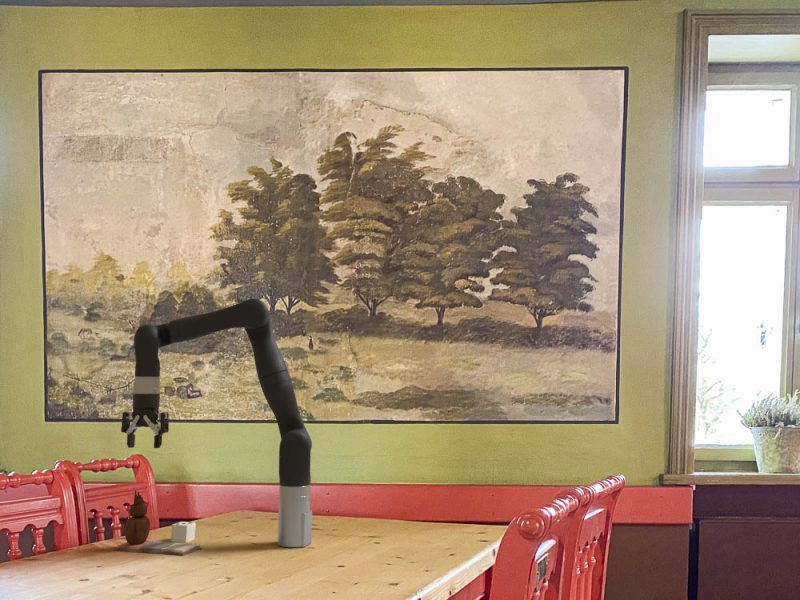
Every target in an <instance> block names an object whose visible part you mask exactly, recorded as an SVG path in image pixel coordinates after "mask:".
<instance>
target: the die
mask: <svg viewBox="0 0 800 600" xmlns="http://www.w3.org/2000/svg"><path fill="white" fill-rule="evenodd" d="M194 540H196V522H194V521H193V522H191V521H178V522H176V523H172V524H171V537H170V542H174V543H190V542H192V541H194Z"/></svg>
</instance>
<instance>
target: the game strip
mask: <svg viewBox="0 0 800 600" xmlns="http://www.w3.org/2000/svg"><path fill="white" fill-rule="evenodd" d="M199 549H201V545H198V544H197V543H190V542H187V543H181V542H171V541H170V542H168V541H160V540H159V541H157V540H156V541H154V540H146V541H145V542H144V543H142V544H137V545H132V544H129V543H128V542H127V541H126V542H124V543H120V544H118V545H117V546H116V547H114V548H113V551H115V552H129V553H130V552H131V553H142V554H144V553H145V554H156V555H157V554H158V555H170V556H171V555H173V556H182V557H183V556H185V555H188V554H191V553H192V552H195V551H197V550H199Z"/></svg>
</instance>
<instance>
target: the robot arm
mask: <svg viewBox="0 0 800 600" xmlns="http://www.w3.org/2000/svg"><path fill="white" fill-rule="evenodd" d="M239 328H244V330H245V332H246V334H247V337H248V339H249V341H250V344H251V348H252V351H253V356H254V357H253V358H254V364H255V371H256V375H257V377H258V381H259V385H260V387H261V390H262V393H263V396H264V398H265V400H266V402H267V404H268V406H269V408H270V409H271V412H272V414H273V416H274V417H275V420H276V423H277V426H278V430H279V434H280V443H279V449H278V455H279V456H278V476H279V477H278V479H279V486H278V488H279V489H278V490H279V491H278V495H279V496H278V515H277V516H278V520H277V521H278V522H277V523H278V524H277V546H279V547H284V548H305V547H307V546H308V545H309V544H311V543H312V539H313V538H312V536H313V535H312V534H313V533H312V532H313V510H312V509H311V478H312V476H311V453H312V452H311V451H312V448H313V445H312V444H313V443H312V439H311V437H310V435H309V432H308V430H307V427H306V426H305V424H304V421H303V419H302V417H301V413H300V411H299V407H298V402H297V397H296V393H295V389H294V385H293V382H292V378H291V376H290V373H289V368H288V367H287V363H286V362H285V361H286V360H285V359H284V356H283V354H282V352H281V350H280V348H279V346H278V344H277V341H276V339H275V335H274V331H273V327H272V322H271V317H270V311H269V308H268V306H267V305H266V304H265V302H264V301H262V300H261V299H259V298H253V297H252V298H248V299H246V300H243V301H240V302H238V303H236V304H234V305H231V306H228V307H225V308H221V309H218V310H213V311H211V312H206V313H205V312H204V313H201V314H199V313H198V314H194V315H190V316H184V317H180V318H175V319H172V320H170V321H169V322H165V323H162V324H157V325H151V324H142V325H141V326H139V327H138V328H137V329H136V331H135V333H134V338H133V347H134V357H135V358H134V359H135V367H134V378H133V385H132V386H133V387H132V388H133V389H132V406H131V407H132V409H133V410H132V412H131V411H123V413H122V418H121V427H120V432H121V433H123V434H124V433H125V434H126V445H127V448H129V449H132V448H135V445H136V434H135V433H136V432H137V430H138V429H139V428H142V427H143V428H144V427H145V428H150V430H152V431H153V433H154V437H153V449H160V448H161V446H162V445H163V444H162V443H163V435H164V434H166V433H169V431H170V429H169V428H170V427H169V424H170V423H169V421H170V420H169V419H170V417H169V412H168V411H163V412H160V411H159V408H160V401H161V400H160V399H161V397H160V396H161V362H160V361H161V360H160V358H159V348H163V347H166V346H169V345H172V344H173V345H174V344H176V343H181V342H187V341H192V340H195V339H196V340H197V339H199V338H200V339H201V338H203V337H206V336H209V335H212V334H214V333H217V332H218V333H219V332H221V331H224V330H228V329H229V330H230V329H239ZM158 419H159V421H158ZM131 420H132V421H131ZM159 422H160V423H159Z"/></svg>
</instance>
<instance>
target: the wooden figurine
mask: <svg viewBox="0 0 800 600" xmlns="http://www.w3.org/2000/svg"><path fill="white" fill-rule="evenodd" d="M128 511H129V512H128V514H129V515H130V517H129V518H128V519H126V522H125V524H124V538H125V540H126V542H128V543H129V544H132V545H137V544H142V543H144V542H145V541H148V540H147V539H148V537H149V535H150V530H151V521H150V518H149V517H148V516H147V513H148V505H147V504H146V503H144V497H143V496H142V495H141V494H140V491H136V490H135V491H134V498H133V504H131V505H130V506H129V510H128Z"/></svg>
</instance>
